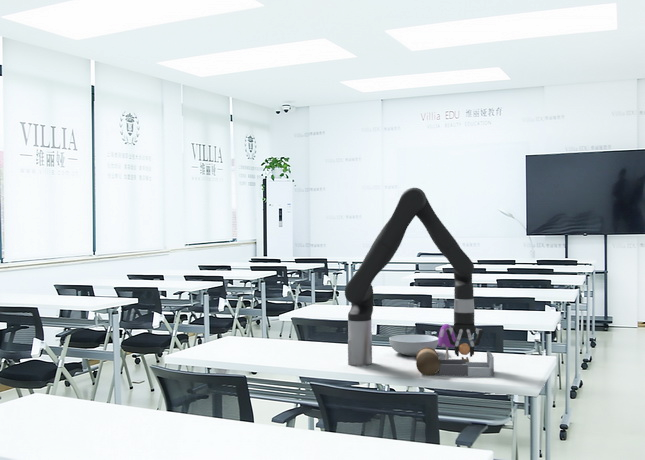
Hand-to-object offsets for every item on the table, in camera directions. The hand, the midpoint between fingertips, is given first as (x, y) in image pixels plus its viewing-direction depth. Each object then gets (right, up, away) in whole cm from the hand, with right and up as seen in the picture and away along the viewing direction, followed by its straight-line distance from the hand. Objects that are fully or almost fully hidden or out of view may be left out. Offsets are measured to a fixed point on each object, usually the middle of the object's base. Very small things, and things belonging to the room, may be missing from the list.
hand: (464, 355), depth 239 cm
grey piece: (-1, -5, -8) cm, 9 cm away
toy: (-4, -5, +12) cm, 14 cm away
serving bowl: (-15, -5, +30) cm, 34 cm away
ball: (0, +3, 0) cm, 3 cm away
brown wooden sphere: (-15, -5, -6) cm, 17 cm away
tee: (0, -5, 0) cm, 5 cm away
